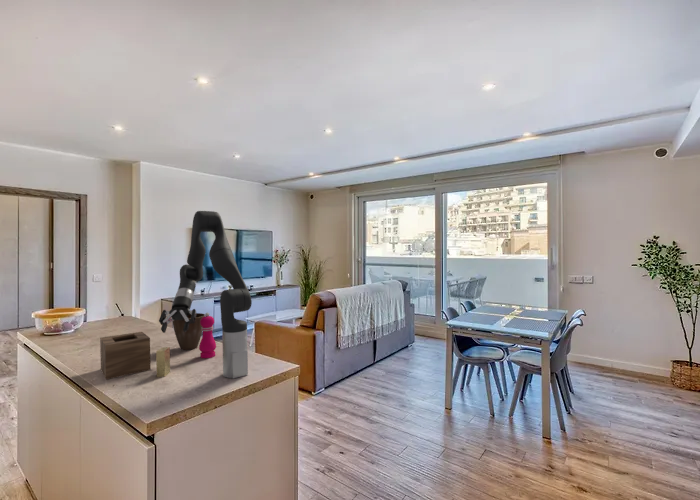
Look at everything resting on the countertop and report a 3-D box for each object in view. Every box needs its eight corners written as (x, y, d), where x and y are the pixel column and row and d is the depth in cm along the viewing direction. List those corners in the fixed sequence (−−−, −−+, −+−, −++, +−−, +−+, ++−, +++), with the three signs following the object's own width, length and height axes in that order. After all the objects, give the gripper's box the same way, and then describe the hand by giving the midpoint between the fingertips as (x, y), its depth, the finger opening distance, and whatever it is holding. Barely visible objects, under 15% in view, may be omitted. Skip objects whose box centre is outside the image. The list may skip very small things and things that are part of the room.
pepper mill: (210, 359, 154) (209, 314, 154) (195, 358, 156) (195, 313, 155) (219, 354, 161) (218, 311, 161) (205, 353, 163) (204, 310, 163)
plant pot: (174, 345, 176) (173, 314, 176) (206, 342, 182) (205, 312, 182) (170, 354, 162) (169, 320, 162) (204, 350, 168) (204, 317, 168)
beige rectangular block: (164, 376, 134) (164, 350, 134) (156, 377, 134) (156, 351, 134) (170, 372, 139) (169, 347, 139) (162, 372, 139) (161, 347, 139)
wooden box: (150, 369, 142) (150, 338, 142) (105, 379, 132) (105, 345, 132) (142, 360, 153) (141, 331, 153) (100, 369, 143) (100, 337, 143)
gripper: (164, 295, 155) (153, 327, 144) (197, 294, 157) (189, 326, 145) (169, 305, 160) (159, 336, 149) (201, 304, 162) (193, 335, 151)
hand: (174, 331), depth 147 cm, fingers open, 8 cm apart
